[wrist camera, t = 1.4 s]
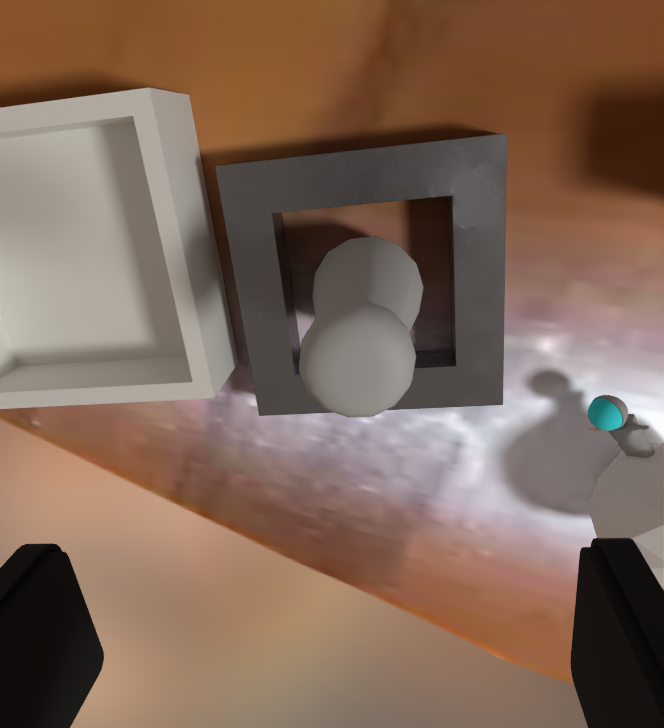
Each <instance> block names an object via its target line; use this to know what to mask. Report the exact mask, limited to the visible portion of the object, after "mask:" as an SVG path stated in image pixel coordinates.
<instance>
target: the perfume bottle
mask: <svg viewBox="0 0 664 728" xmlns="http://www.w3.org/2000/svg"><path fill="white" fill-rule="evenodd" d="M588 417H589V419H590V421H591V423H592V424H593V425H594V426H595V427H597V428H590V429H588V430H593V431H596V430H600V429H601V430H609V432H610V434H611V435H612V436H613V438H614V439H615V440H616V441H617V442H618V444H619V446H620V447H621V449H622V451H621V452H620V453H619V454H618V456H617V457H616V458H615V459H614V460H613V461H612V462H611V463H610V465H609V466H608V467H607V468H606V469H605V470H604V471H603V472H602V474H601V475H600V476H599V477H598V478H597V481H596V484H595V487H594V490H593V493H592V496H591V498H590V501H589V504H588V510H589V513H590V516H591V519H592V522H593V526H594V529H595V532H596V535H597V538H631V539H632V540H633V541H634V542H635V543H636V545H637V546H638V548H639V550H640V551H641V553H642V555H643V557H644V558H645V560H646V562H647V563H648V565H649V567H650V568H651V570H652V572H653V574H654V575H655V577H656V579H657V580H658V582H659V584H660V585H661V587H662V588H663V589H664V443H663V444H656V445H650V443H649V442H648V440H647V438H646V436H645V435H644V433H643V432H642V430H641V429H643V430H645V429H648V428H649V427H648V426H641V425H638V423H637V421H636V418H635V416H634V414H629V415H628V409H627V407H626V405H625V403H624V402H623V401H622V400H620V399H619V398H617V397H614V396H610V395H603V396H599V397H596V398H595V399H594V400H593V401H592V403H591V404H590V406H589V409H588Z"/></svg>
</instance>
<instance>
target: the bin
mask: <svg viewBox="0 0 664 728" xmlns="http://www.w3.org/2000/svg"><path fill="white" fill-rule="evenodd" d="M238 363H239V361H238V355H237V350H236V345H235V339H234V334H233V328H232V323H231V318H230V312H229V307H228V302H227V296H226V291H225V285H224V280H223V275H222V269H221V264H220V259H219V253H218V248H217V242H216V237H215V232H214V226H213V221H212V216H211V210H210V205H209V199H208V194H207V189H206V183H205V178H204V173H203V167H202V162H201V156H200V151H199V146H198V140H197V135H196V129H195V124H194V119H193V113H192V108H191V103H190V97H189V95H186V94H181V93H175V92H170V91H165V90H159V89H154V88H142V89H135V90H128V91H120V92H113V93H105V94H98V95H91V96H83V97H76V98H68V99H61V100H54V101H46V102H39V103H31V104H24V105H17V106H9V107H2V108H0V409H7V408H27V407H47V406H67V405H87V404H107V403H127V402H146V401H166V400H186V399H206V398H215V396H216V395H217V393H218V392H219V390H220V389H221V388H222V386H223V385H224V383H225V382H226V380H227V379H228V377H229V376H230V374H231V373H232V371H233V370H234V368H235V367H236V365H237V364H238Z"/></svg>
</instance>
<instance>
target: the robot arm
mask: <svg viewBox="0 0 664 728" xmlns="http://www.w3.org/2000/svg"><path fill="white" fill-rule="evenodd" d="M103 660H104V653H103V649H102V646H101V643H100V641H99V638H98V636H97V633H96V630H95V627H94V624H93V622H92V619H91V616H90V614H89V611H88V608H87V605H86V603H85V600H84V597H83V595H82V592H81V589H80V587H79V584H78V581H77V578H76V576H75V573H74V570H73V567H72V564H71V562H70V559H69V557H68V555H67V553H65V552H62V550H61V548H60V547H59V546H58V545H57V544H25V545H23V546H21V547H20V548H19V549H17V550H16V551H15V552H14V554H13V555H12V556H11V557H10V558H9V559H8V560H7V561H6V563H4V565H3V566H2V567H1V568H0V728H70V726H71V725H72V723H73V721H74V719H75V717H76V716H77V714H78V712H79V710H80V708H81V706H82V705H83V703H84V701H85V699H86V697H87V695H88V693H89V692H90V690H91V688H92V686H93V684H94V682H95V681H96V679H97V677H98V675H99V673H100V671H101V669H102V665H103ZM571 671H572V677H573V682H574V685H575V688H576V691H577V695H578V698H579V701H580V704H581V707H582V710H583V713H584V716H585V719H586V722H587V725H588V728H664V591H663V589H662V587H661V585H660V584H659V582H658V580H657V579H656V577H655V575H654V574H653V572H652V570H651V568H650V567H649V565H648V563H647V562H646V560H645V558H644V557H643V555H642V553H641V551H640V550H639V548H638V546H637V545H636V543H635V542H634V541H633V540H632V539H631V538H595V539H593V540H592V543H591V547H583V548H581V551H580V559H579V570H578V582H577V593H576V605H575V616H574V627H573V639H572V650H571Z"/></svg>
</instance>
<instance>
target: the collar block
mask: <svg viewBox="0 0 664 728" xmlns="http://www.w3.org/2000/svg"><path fill="white" fill-rule="evenodd" d="M506 166H507V134H489V135H480V136H471V137H462V138H453V139H444V140H435V141H426V142H418V143H409V144H400V145H391V146H382V147H373V148H364V149H355V150H346V151H337V152H328V153H320V154H311V155H302V156H293V157H284V158H275V159H266V160H257V161H248V162H239V163H230V164H224V165H219V166H215V169H216V175H217V180H218V186H219V192H220V197H221V203H222V209H223V214H224V220H225V226H226V231H227V237H228V242H229V248H230V254H231V259H232V265H233V271H234V276H235V282H236V287H237V293H238V299H239V304H240V310H241V316H242V321H243V327H244V332H245V338H246V344H247V349H248V355H249V361H250V366H251V372H252V378H253V383H254V389H255V394H256V400H257V406H258V411H259V416H265V415H287V414H309V413H331V412H332V411H329V410H326V409H325V408H324V407H323V406H322V405H321V404H320V403H319V402H317V401H316V400H315V399H314V398H313V397H312V396H311V395H310V394H309V393H308V391H307V388H306V386H305V384H304V381H303V379H302V376H301V374H300V371H299V361H300V352H301V349H300V341H299V334H298V327H297V319H296V312H295V305H294V298H293V290H292V283H291V276H290V269H289V261H288V254H287V247H286V240H285V232H284V225H283V218H282V212H288V211H299V210H309V209H319V208H329V207H339V206H350V205H360V204H370V203H380V202H390V201H401V200H411V199H421V198H431V197H441V196H448V210H449V252H450V294H451V336H452V349H451V350H435V351H418V352H415V354H416V360H415V366H414V372H413V378H412V382H411V385H410V387H409V388H408V390H407V391H406V392H405V393H404V395H403V396H402V397H401V398H400V400H399V401H398V402H397V403H396V405H395V406H393V407H391V408H389V409H387V410H398V409H420V408H443V407H465V406H487V405H503V361H504V296H505V231H506Z"/></svg>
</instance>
